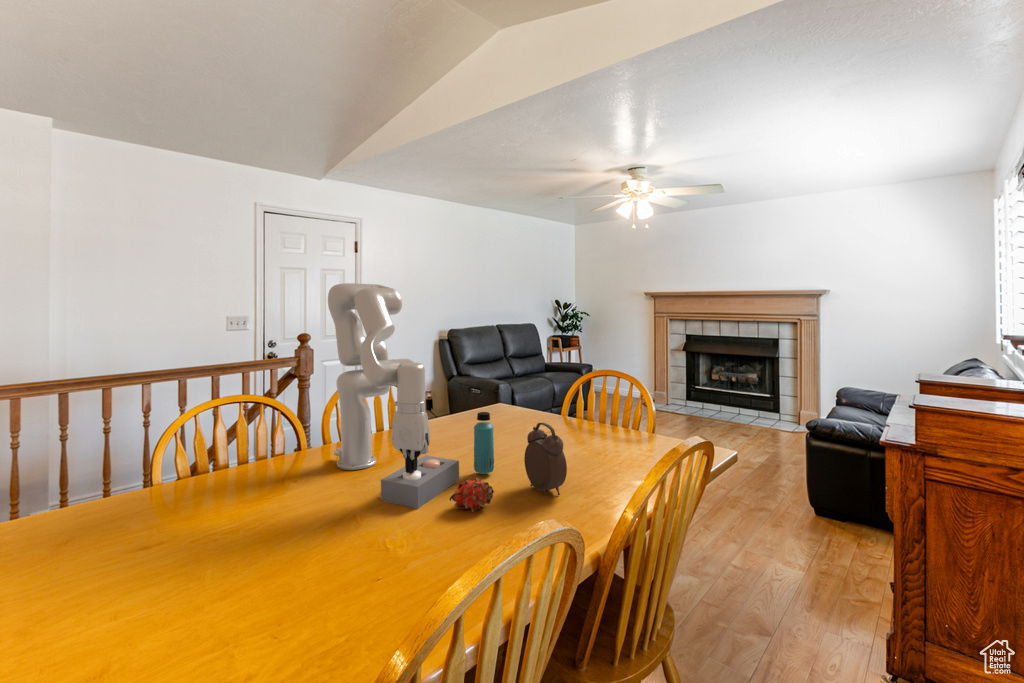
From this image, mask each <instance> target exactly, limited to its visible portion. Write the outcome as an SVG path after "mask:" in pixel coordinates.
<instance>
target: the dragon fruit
mask: <svg viewBox="0 0 1024 683" xmlns="http://www.w3.org/2000/svg"><path fill="white" fill-rule="evenodd" d="M494 492H495V491H494V488H493V487H492V486H491V485H490V483H489V482H487V481H482V480H481V479H480V478H477V477H476V478H475V479H466V480H465V481H464V482H462V483H459V484H458V487H457V488H456V490H455V491H454V492H453V494H452V495H451V496H450V497H449V501H450V502H451V501H453V502H455V503H454V507H455V508H457V509H464V510H468V509H471V512H472V513H473V512H475V511H477V510H478V509H479V510H480V509H483V507H484V506H485V505H490V504H491V502H492V499H493V497H494V495H493V494H494Z"/></svg>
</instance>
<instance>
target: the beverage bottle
mask: <svg viewBox="0 0 1024 683" xmlns="http://www.w3.org/2000/svg"><path fill="white" fill-rule="evenodd" d="M476 420H477V421H479V422H477V423H476V424H475V425H474V426H473V469H474V472H475V473H478V474H489V473H492V472H493V471H494V468H495V447H494V445H495V441H494V425H493V424H492V423H491V422H489V421H490V420H491V413H490V412H489V411H488V412H487V411H479V412H477V416H476Z"/></svg>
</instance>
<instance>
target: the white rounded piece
mask: <svg viewBox="0 0 1024 683" xmlns="http://www.w3.org/2000/svg"><path fill="white" fill-rule="evenodd" d="M419 478H421V472H420V471H417V470H416V471H415V472H413V473H406V472H404V473H403V479H407V480H412V481H416V480H417V479H419Z"/></svg>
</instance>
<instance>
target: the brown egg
mask: <svg viewBox="0 0 1024 683" xmlns="http://www.w3.org/2000/svg"><path fill="white" fill-rule="evenodd" d="M439 466H440V461H439V460H435V459H430V460H426V461H424V462H423V467H427V468H432V469H435V468H437V467H439Z"/></svg>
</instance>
